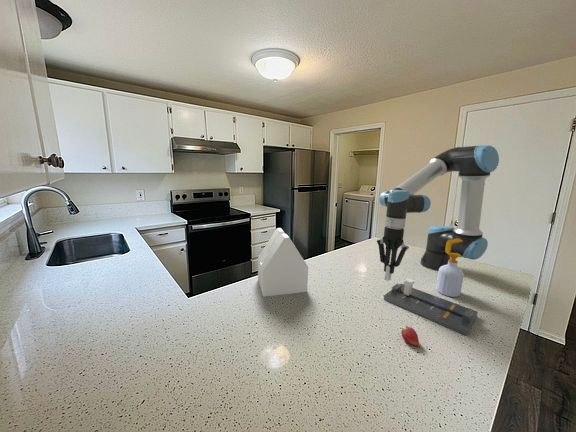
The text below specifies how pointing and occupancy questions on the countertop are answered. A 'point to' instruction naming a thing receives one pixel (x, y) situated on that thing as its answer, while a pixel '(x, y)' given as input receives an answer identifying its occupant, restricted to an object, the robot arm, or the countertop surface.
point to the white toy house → (281, 267)
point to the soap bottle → (450, 273)
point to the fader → (408, 286)
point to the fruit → (410, 336)
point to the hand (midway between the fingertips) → (387, 279)
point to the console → (433, 308)
